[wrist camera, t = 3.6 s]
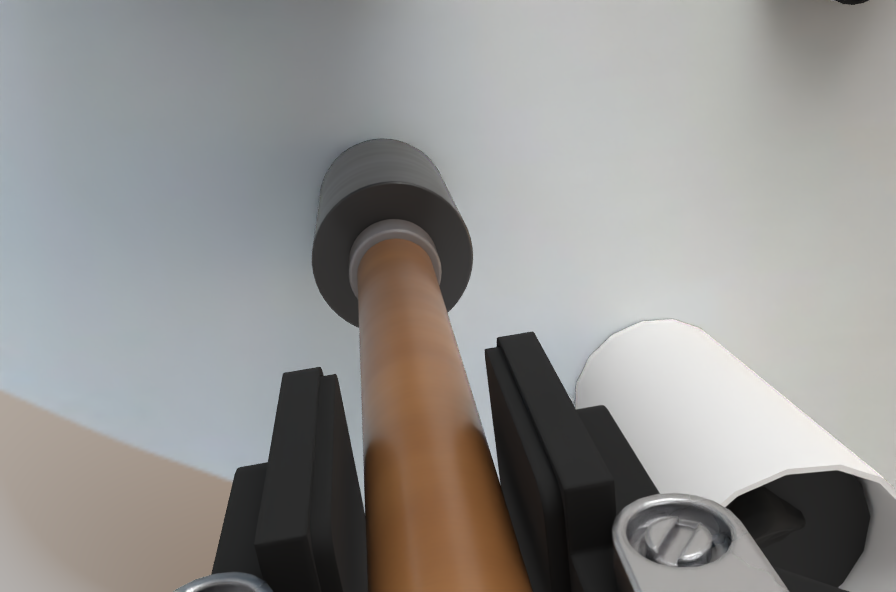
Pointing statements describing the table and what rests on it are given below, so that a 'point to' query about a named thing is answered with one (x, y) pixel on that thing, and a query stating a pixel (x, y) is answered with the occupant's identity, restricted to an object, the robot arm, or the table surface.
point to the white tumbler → (745, 453)
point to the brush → (413, 375)
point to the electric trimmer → (851, 1)
